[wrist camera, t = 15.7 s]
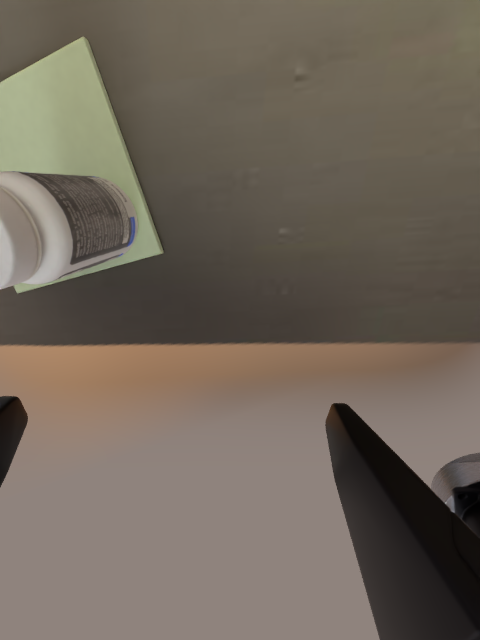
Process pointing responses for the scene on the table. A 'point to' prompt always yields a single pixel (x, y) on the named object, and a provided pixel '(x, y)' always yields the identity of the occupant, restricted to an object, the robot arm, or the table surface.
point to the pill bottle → (60, 225)
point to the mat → (70, 136)
